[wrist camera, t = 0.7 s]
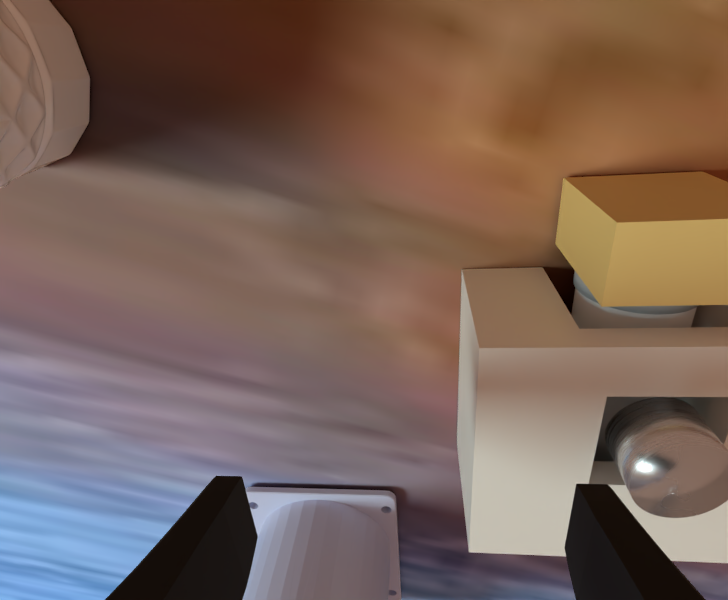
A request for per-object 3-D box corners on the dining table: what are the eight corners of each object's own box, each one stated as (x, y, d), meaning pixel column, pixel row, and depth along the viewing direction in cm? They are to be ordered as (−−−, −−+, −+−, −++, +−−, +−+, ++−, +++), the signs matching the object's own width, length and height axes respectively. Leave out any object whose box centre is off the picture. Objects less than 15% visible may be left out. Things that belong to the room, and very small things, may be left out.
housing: (707, 447, 21) (795, 566, 16) (456, 443, 22) (468, 552, 18) (773, 261, 17) (917, 345, 12) (462, 269, 18) (479, 348, 13)
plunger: (689, 465, 15) (724, 519, 14) (598, 463, 16) (621, 516, 14) (712, 396, 14) (755, 446, 12) (612, 396, 14) (640, 445, 13)
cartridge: (638, 413, 20) (699, 510, 16) (533, 412, 21) (564, 506, 17) (700, 170, 16) (809, 216, 11) (562, 177, 16) (616, 222, 12)
